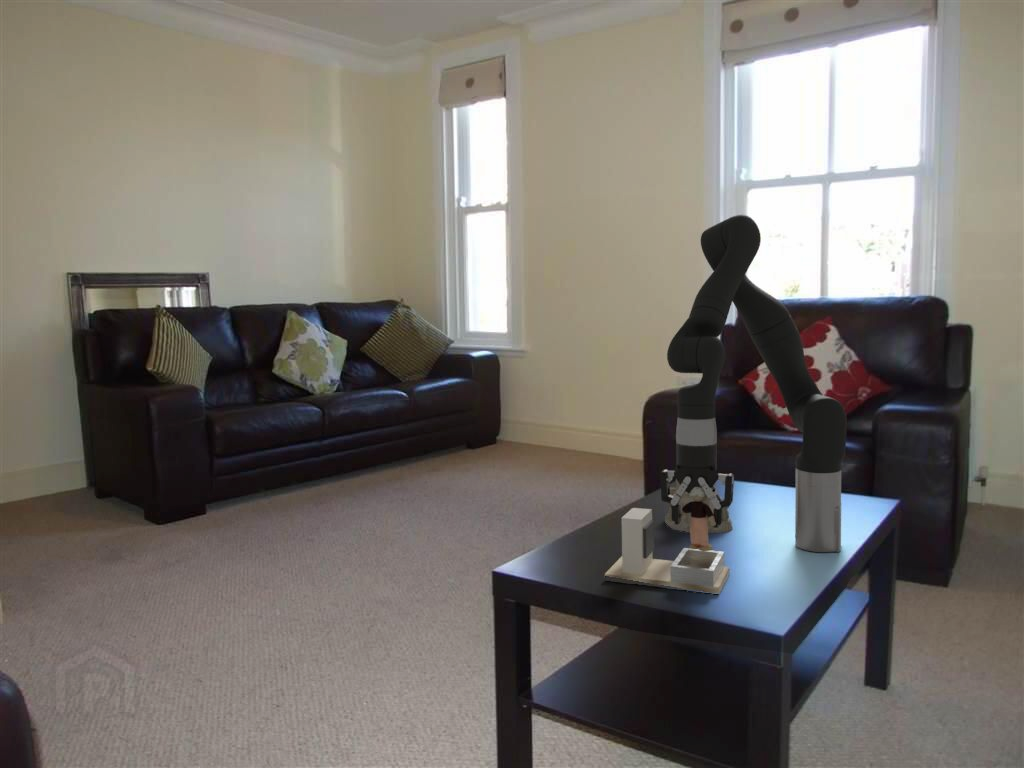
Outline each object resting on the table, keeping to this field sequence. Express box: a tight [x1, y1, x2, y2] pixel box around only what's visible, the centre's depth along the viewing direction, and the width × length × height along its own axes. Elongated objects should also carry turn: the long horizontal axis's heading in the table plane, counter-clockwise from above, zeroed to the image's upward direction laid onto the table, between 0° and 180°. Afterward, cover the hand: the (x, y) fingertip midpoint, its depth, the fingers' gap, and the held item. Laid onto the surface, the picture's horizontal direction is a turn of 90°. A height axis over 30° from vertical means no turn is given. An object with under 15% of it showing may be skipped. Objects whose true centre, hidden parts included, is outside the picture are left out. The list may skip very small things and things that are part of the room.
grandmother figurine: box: [680, 487, 716, 551], centre depth 152 cm, size 8×4×13 cm, turn 55°
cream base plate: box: [604, 555, 731, 595], centre depth 156 cm, size 22×12×2 cm, turn 66°
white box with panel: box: [621, 507, 655, 575], centre depth 158 cm, size 5×8×11 cm, turn 156°
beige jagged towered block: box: [664, 478, 734, 534], centre depth 192 cm, size 16×16×15 cm
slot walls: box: [670, 547, 725, 587], centre depth 153 cm, size 8×12×3 cm, turn 156°
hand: (696, 525), depth 153 cm, fingers closed on grandmother figurine, 7 cm apart
